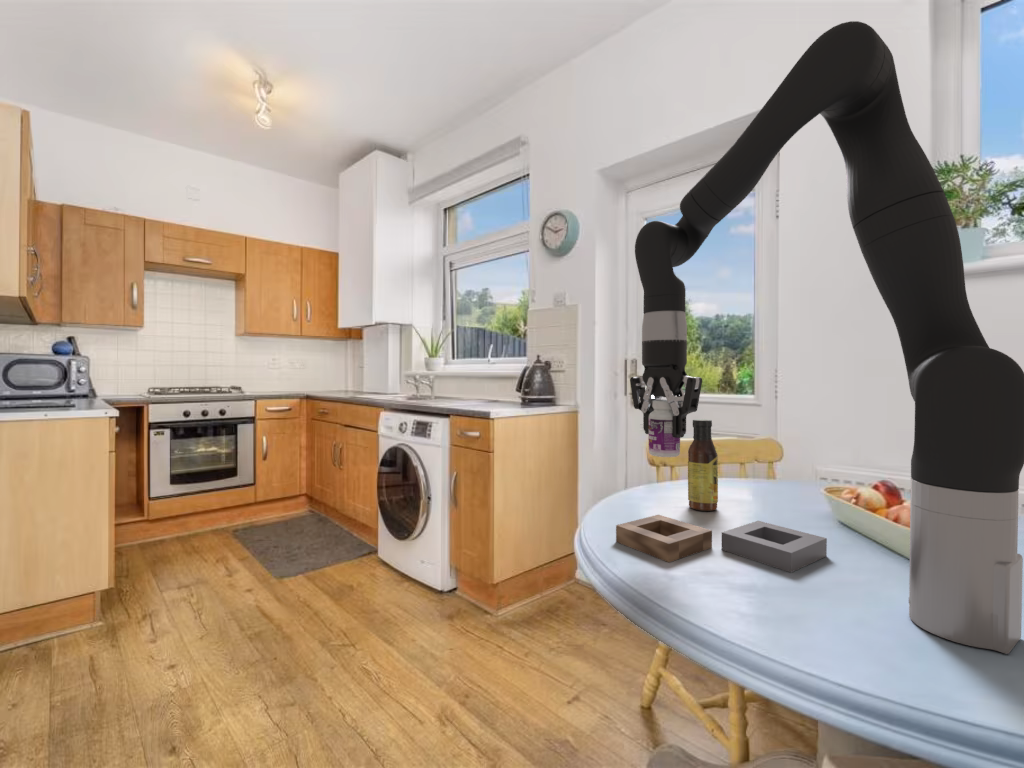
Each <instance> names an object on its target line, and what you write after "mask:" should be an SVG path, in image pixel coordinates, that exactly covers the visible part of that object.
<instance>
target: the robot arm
mask: <svg viewBox="0 0 1024 768" xmlns="http://www.w3.org/2000/svg"><path fill="white" fill-rule="evenodd" d="M894 60H895V59H894V56H893V53H892V51H891V50H890V48H889V46H888V45H887V44H886V42H885V41H884V40H883V39H882V37H881V36H880V35H879V33H878V32H877V31H876V29H874V28H873V26H871V25H869V24H867V23H865V22H861V21H857V20H856V21H855V20H852V21H846V22H842V23H839V24H837V25H835V26H833V27H830V28H829V29H828V30H826V31H824V32H823V33H821V35H819V37H817V38H816V39H815V40H814V42H812V43H811V44H810V45H809V46H808V48H807V49H806V50H805V51H804V53H803V54H802V55H801V57H800V58H799V59H798V60H797V62H796V63H795V64H794V65H793V66H792V68H791V69H790V71H789V72H788V73H787V75H785V77H784V79H783V80H782V82H781V83H780V84H779V85H778V87H777V88H776V90H775V91H774V92H773V93H772V95H771V96H770V97H769V99H768V100H767V101H766V103H764V105H763V107H761V109H760V110H759V112H758V113H757V114H756V115H755V117H754V118H753V120H752V121H750V123H749V124H748V126H747V127H746V128H745V130H743V132H742V134H741V135H740V136H739V137H738V138H737V140H736V141H734V143H733V144H732V146H731V147H730V148H729V149H728V150H727V151H726V152H725V154H724V155H722V157H721V158H720V159H719V160H718V161H717V162H716V163H715V164H714V165H713V166H712V167H711V168H710V169H709V170H708V171H707V172H705V173H706V174H705V175H703V176H702V177H701V179H699V180H698V181H697V182H696V183H695V185H693V187H692V188H691V189H690V190H689V191H688V192H687V193H686V194H685V195H684V196H683V198H682V199H681V201H680V204H679V210H680V214H681V218H680V219H679V220H678V221H677V223H675V224H671V223H668V222H666V221H661V220H652V221H649V222H647V223H645V224H644V225H643V226H642V227H641V228H640V230H639V232H638V233H637V236H636V238H635V243H634V256H635V263H636V266H637V270H638V275H639V279H640V282H641V286H642V290H643V305H642V306H643V312H642V313H643V319H642V326H641V365H642V366H643V367H644V371H643V373H642V375H641V376H631V377H630V378H629V383H630V389H631V395H632V403H633V408H634V409H635V410H639V411H641V413H642V414H643V418H642V419H643V420H642V421H643V427H642V428H643V431H644V433H645V435H649V414H650V413H651V412H652V411H654V409H653V407H652V404H653V400H662V398H665V400H667V402H668V403H669V404H670V405H671V408H672V411H673V414H674V415H675V416H673V437H674V438H680V439H681V438H684V437H685V435H686V434H687V415H689V414H692V413H695V412H697V411H698V408H699V407H698V406H699V401H700V398H701V397H700V395H701V391H702V385H703V378H702V377H700V376H691V375H690V376H689V375H688V374H687V372H686V369H685V367H686V365H687V363H688V323H687V318H686V317H687V316H686V286H685V282H684V281H683V280H681V278H679V277H678V276H677V275H676V274H675V272H674V268H676V267H679V266H681V265H683V264H685V263H686V262H688V261H689V260H690V259H691V258H692V257H693V256H695V254H696V253H697V252H698V250H699V249H700V248H701V246H702V245H703V243H704V242H705V241H706V239H707V238H708V237H709V236H710V234H711V232H712V231H713V228H714V227H715V226H716V225H718V224H719V223H721V222H722V220H724V218H726V217H727V216H728V214H730V213H731V212H732V211H733V210H734V209H735V208H736V207H738V206H739V205H740V204H741V203H742V202H743V201H744V200H745V199H746V197H748V195H749V194H751V192H752V191H753V190H754V188H755V187H756V186H757V185H758V183H759V181H760V180H761V179H762V177H763V176H764V174H765V172H766V171H767V170H768V168H769V166H770V165H771V163H772V162H773V160H774V159H775V157H776V156H777V155H778V154H779V152H780V151H781V150H782V149H783V148H784V146H785V145H786V144H787V142H789V141H790V140H791V139H792V138H793V137H794V136H795V135H796V134H797V133H798V132H799V131H800V130H801V129H802V128H804V126H806V125H807V124H808V123H809V122H811V121H813V119H814V118H816V117H817V116H818V115H821V116H822V118H823V119H824V121H825V122H826V124H827V126H828V127H829V129H830V131H831V133H832V135H833V136H834V140H835V142H836V144H837V146H838V148H839V150H840V152H841V156H842V159H843V162H844V166H845V175H846V197H847V199H846V201H847V208H848V214H849V219H850V222H851V223H850V224H851V225H852V229H853V232H854V234H855V238H856V240H857V243H858V246H859V249H860V251H861V254H862V256H863V259H864V261H865V263H866V265H867V268H868V271H869V273H870V274H871V277H872V280H873V281H874V284H875V285H876V288H877V290H878V292H879V294H880V296H881V298H882V300H883V302H884V304H885V305H886V307H887V309H888V311H889V313H890V315H891V317H892V321H893V322H894V325H895V328H896V330H897V334H898V338H899V341H900V346H901V350H902V355H903V358H904V365H905V368H906V372H907V380H908V385H909V386H908V387H909V391H910V396H911V397H912V400H913V402H914V436H913V439H914V441H913V442H914V443H913V448H912V449H913V450H912V453H911V454H912V455H911V459H910V503H909V504H910V507H909V508H910V509H909V511H910V513H909V575H908V576H909V577H908V578H909V579H908V581H909V583H908V591H909V592H908V594H909V595H908V604H909V606H908V617H909V618H910V620H911V621H912V622H913V623H914V624H915V625H917V626H918V627H919V628H921V629H923V630H924V631H926V632H929V633H931V634H933V635H935V636H937V637H940V638H942V639H946V640H949V641H952V642H954V643H958V644H960V645H964V646H965V645H966V646H969V647H973V648H980V649H987V650H992V651H995V652H999V653H1002V654H1005V655H1008V654H1010V653H1011V651H1012V650H1013V649H1014V647H1015V646H1016V645H1017V644H1018V642H1019V641H1020V639H1022V617H1023V615H1022V611H1023V610H1022V609H1023V607H1022V606H1023V567H1024V566H1023V560H1024V558H1023V555H1022V554H1021V553H1018V541H1019V539H1018V538H1019V535H1018V534H1019V493H1020V491H1019V488H1020V475H1021V473H1022V470H1023V468H1024V371H1023V368H1022V367H1021V366H1020V365H1019V363H1018V362H1017V361H1016V360H1014V359H1013V357H1010V356H1009V355H1007V354H1006V353H1004V352H1002V351H999V350H998V349H994V348H990V346H989V344H988V343H987V341H986V339H985V337H984V335H983V333H982V332H981V330H980V327H979V325H978V323H977V321H976V319H975V316H974V315H973V311H972V310H971V309H972V308H971V306H970V303H969V299H968V295H967V291H966V281H965V279H966V278H965V269H964V268H965V267H964V259H963V252H962V245H961V238H960V233H959V229H958V226H957V223H956V219H955V217H954V214H953V212H952V209H951V206H950V203H949V202H948V199H947V197H946V194H945V191H944V189H943V186H942V184H941V183H940V181H939V178H938V176H937V174H936V172H935V170H934V167H933V166H932V163H931V162H930V160H929V158H928V156H927V154H926V152H925V151H924V149H923V148H922V146H921V145H920V143H919V141H918V140H917V138H916V136H915V134H914V133H913V131H912V129H911V126H910V123H909V120H908V118H907V114H906V109H905V107H904V103H903V98H902V94H901V90H900V84H899V79H898V74H897V70H896V69H897V68H896V64H895V61H894ZM683 387H684V389H683Z"/></svg>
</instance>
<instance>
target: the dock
mask: <svg viewBox="0 0 1024 768" xmlns="http://www.w3.org/2000/svg"><path fill="white" fill-rule="evenodd" d="M615 542H616V543H618V544H621V545H623V546H626V547H628V548H631V549H634V550H635V551H636V550H637V551H639V552H642V553H644V554H647V555H649V556H651V557H654V558H656V559H659V560H662V561H664V562H667V563H671V562H674V561H677V560H680V559H683V558H685V557H689V556H692V555H694V554H697V553H701V552H703V551H706V550H709V549H712V548H713V530H712V529H708V528H704V527H701V526H699V525H698V526H697V525H694V524H692V523H688V522H685V521H682V520H678V519H674V518H671V517H667V516H665V515H663V514H655V515H651V516H648V517H644V518H639V519H636V520H635V519H634V520H631V521H627V522H624V523H620V524H616V525H615Z"/></svg>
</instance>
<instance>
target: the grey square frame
mask: <svg viewBox="0 0 1024 768" xmlns="http://www.w3.org/2000/svg"><path fill="white" fill-rule="evenodd" d="M827 540H828V539H827V537H823V536H819V535H817V534H812V533H807V532H804V531H800V530H795V529H792V528H788V527H784V526H780V525H776V524H773V523H770V522H766V521H762V520H756V521H752V522H751V523H747V524H743V525H741V526H737V527H734V528H731V529H728V530H726V531H725V530H724V531H722V532H721V551H724V552H728V553H731V554H734V555H737V556H740V557H742V558H745V559H748V560H752V561H754V562H758V563H761V564H763V565H767V566H770V567H773V568H777V569H779V570H781V571H782V570H783V571H785V572H789V573H794V572H796V571H798V570H800V569H802V568H804V567H806V566H808V565H810V564H813V563H815V562H817V561H819V560H821V559H823V558H824V559H825V558H826V557H827V555H828V553H827V549H828V548H827V546H828V544H827V543H828V541H827Z"/></svg>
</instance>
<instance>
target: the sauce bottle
mask: <svg viewBox="0 0 1024 768" xmlns="http://www.w3.org/2000/svg"><path fill="white" fill-rule="evenodd" d="M712 427H713V422H712V419H705V418H704V419H703V418H702V419H692V428H693V436H692V438H693V440H692V442H691V443H690V446H689V447H688V450H687V451H688V453H687V454H688V455H687V456H688V458H687V459H688V460H687V499H688V507H689V508H690V507H691V509H693V510H696V511H699V512H701V511H703V512H711V511H715V510H717V509H718V502H719V475H718V474H719V471H718V469H719V467H718V463H719V462H718V461H719V459H718V457H719V456H718V453H717V451H716V448H715V445H714V442H713V439H712Z"/></svg>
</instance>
